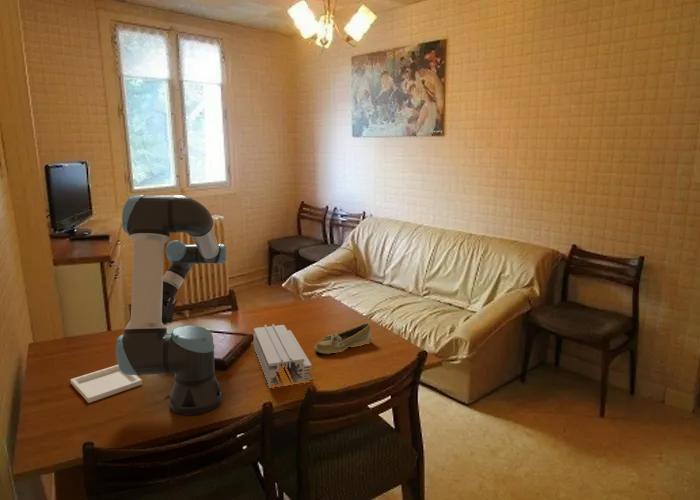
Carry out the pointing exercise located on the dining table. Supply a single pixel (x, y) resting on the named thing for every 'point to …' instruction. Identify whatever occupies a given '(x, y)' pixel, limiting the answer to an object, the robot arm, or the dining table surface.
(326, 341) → the boat shoe
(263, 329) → the aluminum extrusion profile
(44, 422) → the dining table surface
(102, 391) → the tray
